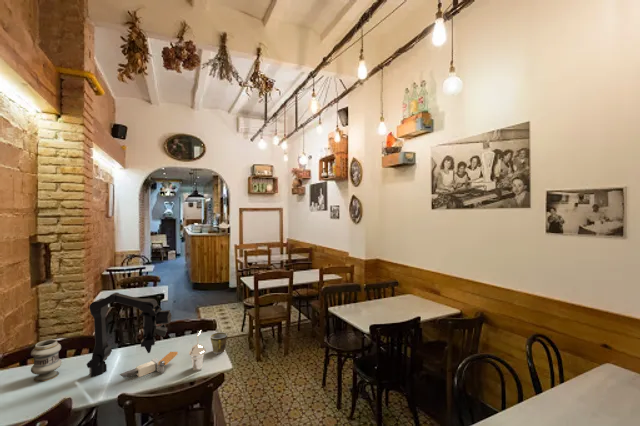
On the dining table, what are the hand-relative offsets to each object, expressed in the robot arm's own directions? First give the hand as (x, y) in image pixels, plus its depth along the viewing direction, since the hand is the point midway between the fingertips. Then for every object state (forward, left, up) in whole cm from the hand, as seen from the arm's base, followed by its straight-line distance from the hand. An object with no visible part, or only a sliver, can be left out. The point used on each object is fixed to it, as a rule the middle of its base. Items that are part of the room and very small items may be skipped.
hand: (149, 352), depth 163 cm
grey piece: (-3, -1, -11) cm, 11 cm away
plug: (-5, -1, -9) cm, 11 cm away
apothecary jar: (-35, +37, -11) cm, 52 cm away
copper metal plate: (+8, -5, -5) cm, 11 cm away
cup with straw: (+18, -18, -11) cm, 27 cm away
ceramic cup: (+37, -9, -11) cm, 39 cm away
